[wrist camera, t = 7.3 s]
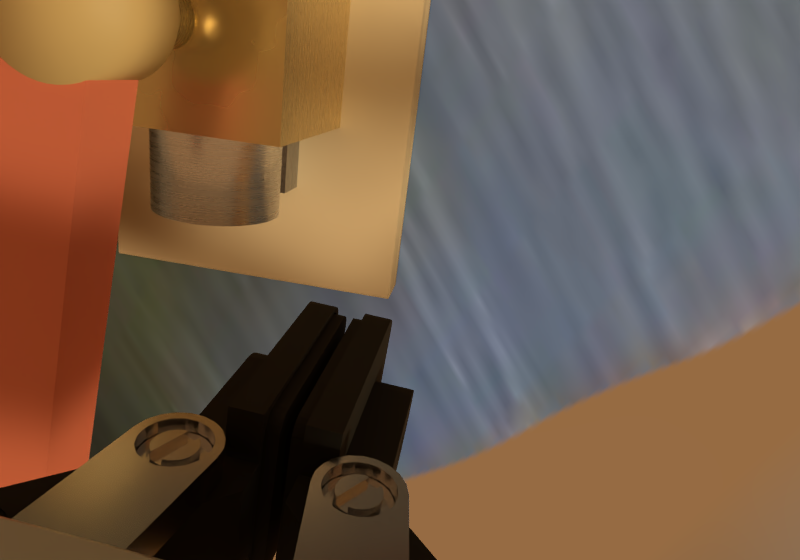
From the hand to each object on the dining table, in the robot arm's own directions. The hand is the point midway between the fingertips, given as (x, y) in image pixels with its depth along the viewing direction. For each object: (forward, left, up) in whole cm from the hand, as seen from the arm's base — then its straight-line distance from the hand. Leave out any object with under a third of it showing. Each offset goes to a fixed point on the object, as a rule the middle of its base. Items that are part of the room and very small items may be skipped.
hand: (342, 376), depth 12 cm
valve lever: (-2, -6, -1) cm, 6 cm away
